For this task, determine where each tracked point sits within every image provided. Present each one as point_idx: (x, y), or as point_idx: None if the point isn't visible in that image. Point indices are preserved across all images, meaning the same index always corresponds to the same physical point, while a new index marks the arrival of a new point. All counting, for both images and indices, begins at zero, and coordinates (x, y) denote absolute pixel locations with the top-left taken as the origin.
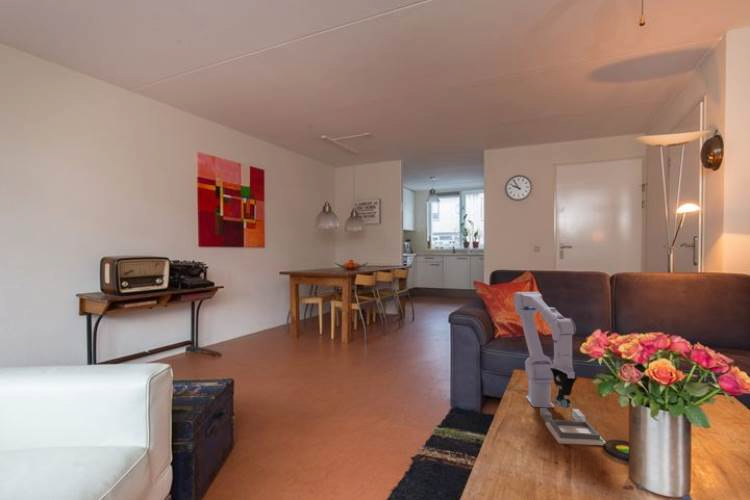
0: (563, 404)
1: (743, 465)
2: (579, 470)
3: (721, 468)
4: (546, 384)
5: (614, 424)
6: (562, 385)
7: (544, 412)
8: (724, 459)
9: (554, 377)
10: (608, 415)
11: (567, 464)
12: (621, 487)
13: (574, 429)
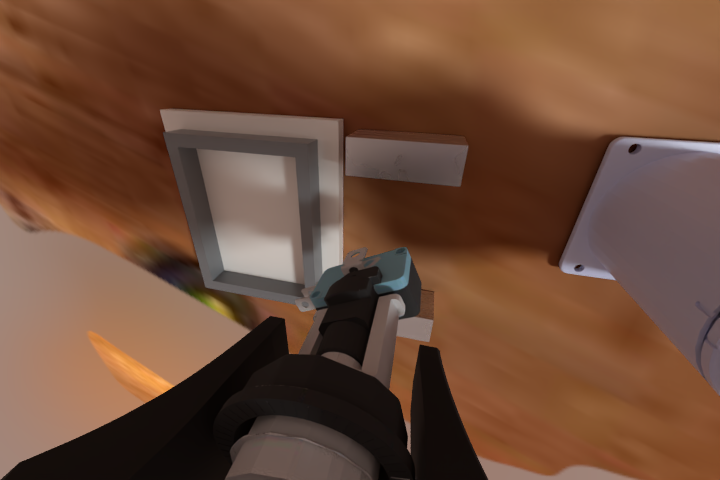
0: (335, 275)
1: None
2: (17, 105)
3: None
4: (695, 340)
5: None
6: (180, 383)
7: (385, 142)
8: None
9: (453, 462)
10: None
11: (29, 74)
12: (6, 189)
13: (277, 231)
